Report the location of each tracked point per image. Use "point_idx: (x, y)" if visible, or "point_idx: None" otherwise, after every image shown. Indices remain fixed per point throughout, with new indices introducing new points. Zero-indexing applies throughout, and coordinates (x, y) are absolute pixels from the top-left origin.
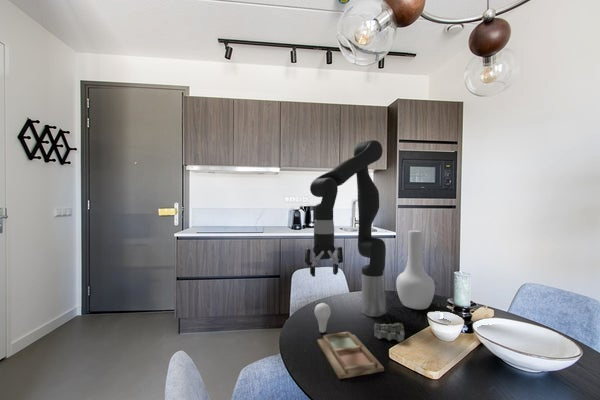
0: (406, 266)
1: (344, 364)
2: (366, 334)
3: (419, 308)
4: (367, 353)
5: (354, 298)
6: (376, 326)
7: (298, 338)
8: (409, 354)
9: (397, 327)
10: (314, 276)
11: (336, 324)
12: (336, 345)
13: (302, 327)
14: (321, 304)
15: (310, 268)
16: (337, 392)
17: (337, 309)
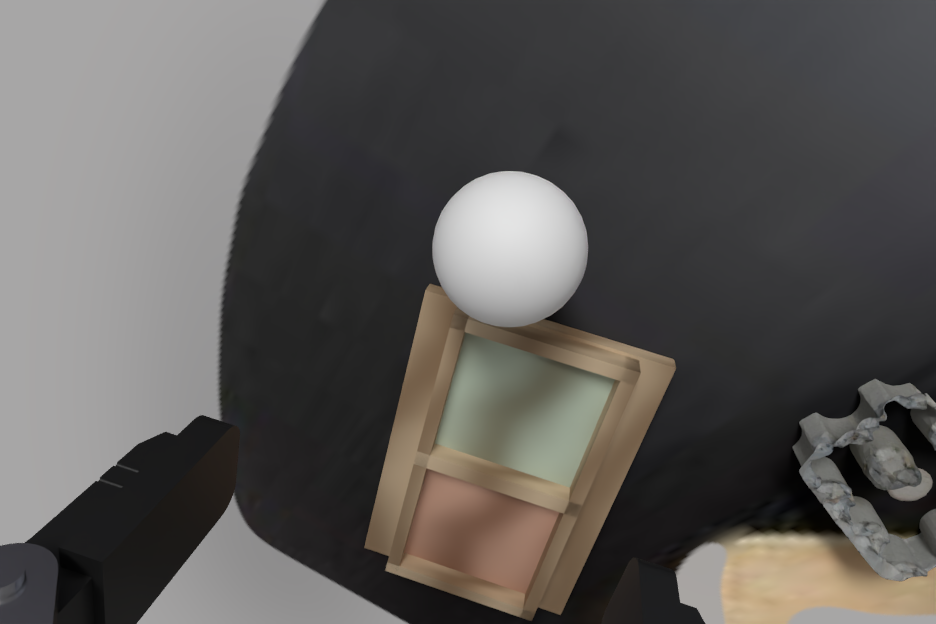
0: None
1: (398, 552)
2: (775, 379)
3: None
4: (550, 562)
5: None
6: (867, 435)
7: (344, 180)
8: (779, 610)
9: None
10: (223, 493)
11: (712, 150)
12: (483, 403)
13: (437, 47)
14: (481, 280)
15: (67, 529)
16: (326, 570)
17: None
